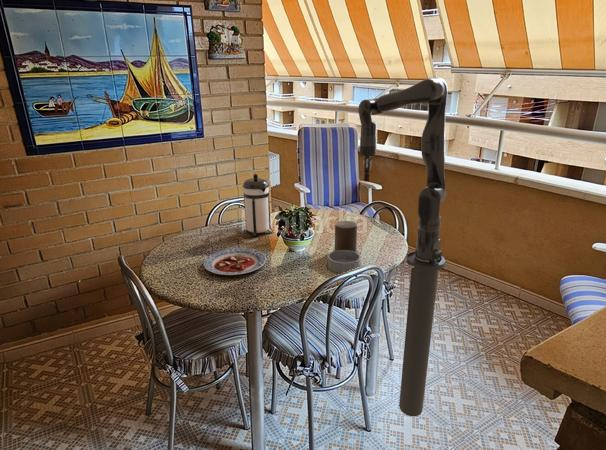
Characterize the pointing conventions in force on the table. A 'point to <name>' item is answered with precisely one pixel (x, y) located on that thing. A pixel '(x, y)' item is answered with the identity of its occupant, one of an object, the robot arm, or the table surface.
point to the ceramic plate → (234, 261)
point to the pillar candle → (346, 235)
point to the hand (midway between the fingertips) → (366, 180)
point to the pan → (343, 260)
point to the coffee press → (257, 205)
